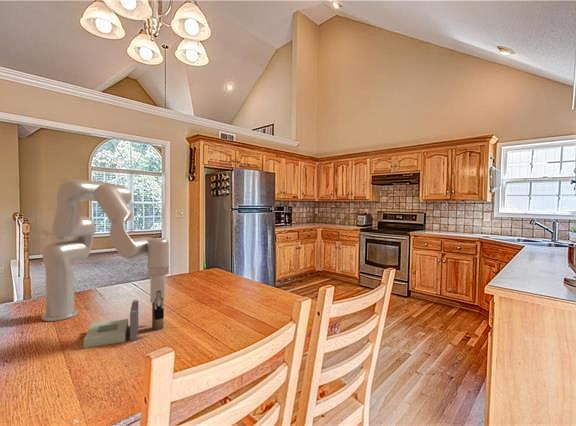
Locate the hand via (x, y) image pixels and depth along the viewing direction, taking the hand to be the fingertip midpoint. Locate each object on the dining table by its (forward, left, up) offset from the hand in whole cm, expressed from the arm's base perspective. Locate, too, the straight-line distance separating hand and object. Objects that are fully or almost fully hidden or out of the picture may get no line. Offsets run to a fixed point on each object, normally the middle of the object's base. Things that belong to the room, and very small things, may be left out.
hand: (158, 314), depth 114 cm
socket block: (+1, -17, -5) cm, 18 cm away
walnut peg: (0, 0, -5) cm, 5 cm away
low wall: (+1, -8, -5) cm, 10 cm away
